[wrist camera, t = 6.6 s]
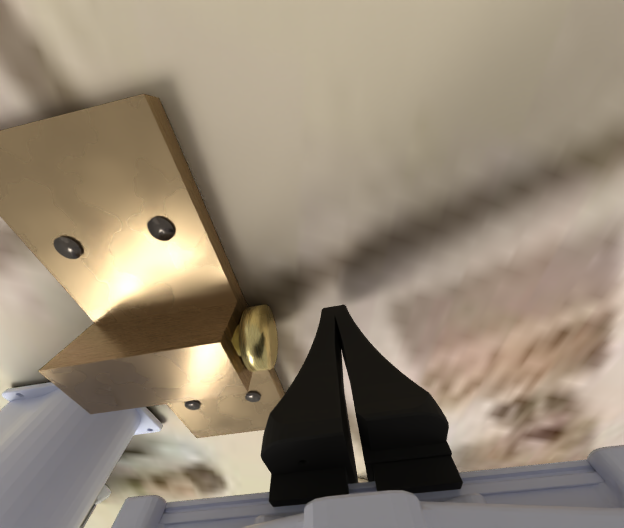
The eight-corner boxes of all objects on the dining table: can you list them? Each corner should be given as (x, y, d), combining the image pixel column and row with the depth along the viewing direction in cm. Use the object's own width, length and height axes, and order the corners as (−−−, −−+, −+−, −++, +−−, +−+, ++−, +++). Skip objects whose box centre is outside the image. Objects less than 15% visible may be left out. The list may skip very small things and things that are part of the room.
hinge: (195, 426, 22) (173, 482, 18) (-41, 148, 10) (-227, 153, 7) (293, 414, 21) (290, 469, 17) (158, 98, 9) (69, 73, 6)
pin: (141, 356, 16) (101, 407, 13) (110, 319, 15) (56, 368, 12) (280, 334, 16) (273, 383, 12) (264, 292, 14) (252, 337, 11)
